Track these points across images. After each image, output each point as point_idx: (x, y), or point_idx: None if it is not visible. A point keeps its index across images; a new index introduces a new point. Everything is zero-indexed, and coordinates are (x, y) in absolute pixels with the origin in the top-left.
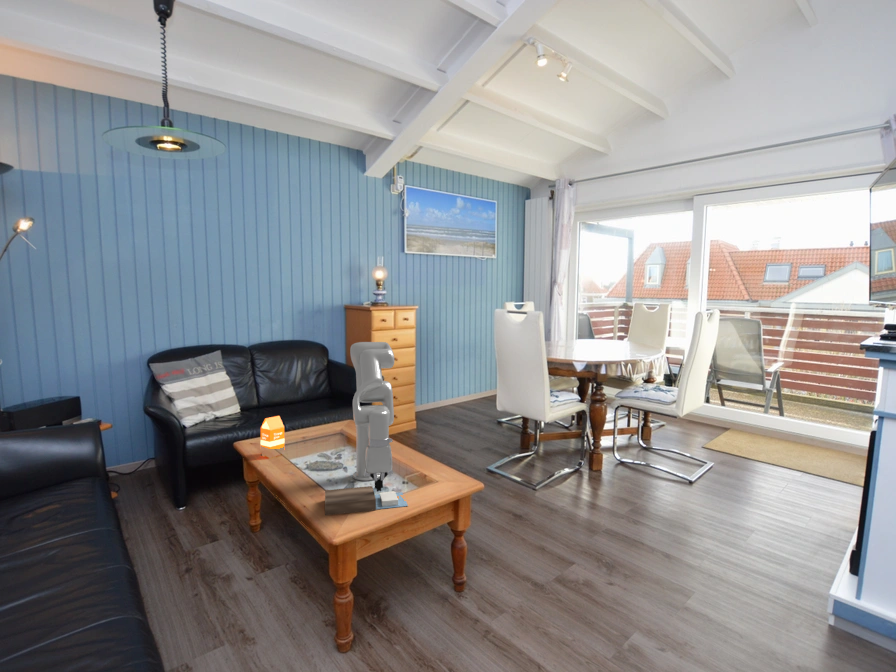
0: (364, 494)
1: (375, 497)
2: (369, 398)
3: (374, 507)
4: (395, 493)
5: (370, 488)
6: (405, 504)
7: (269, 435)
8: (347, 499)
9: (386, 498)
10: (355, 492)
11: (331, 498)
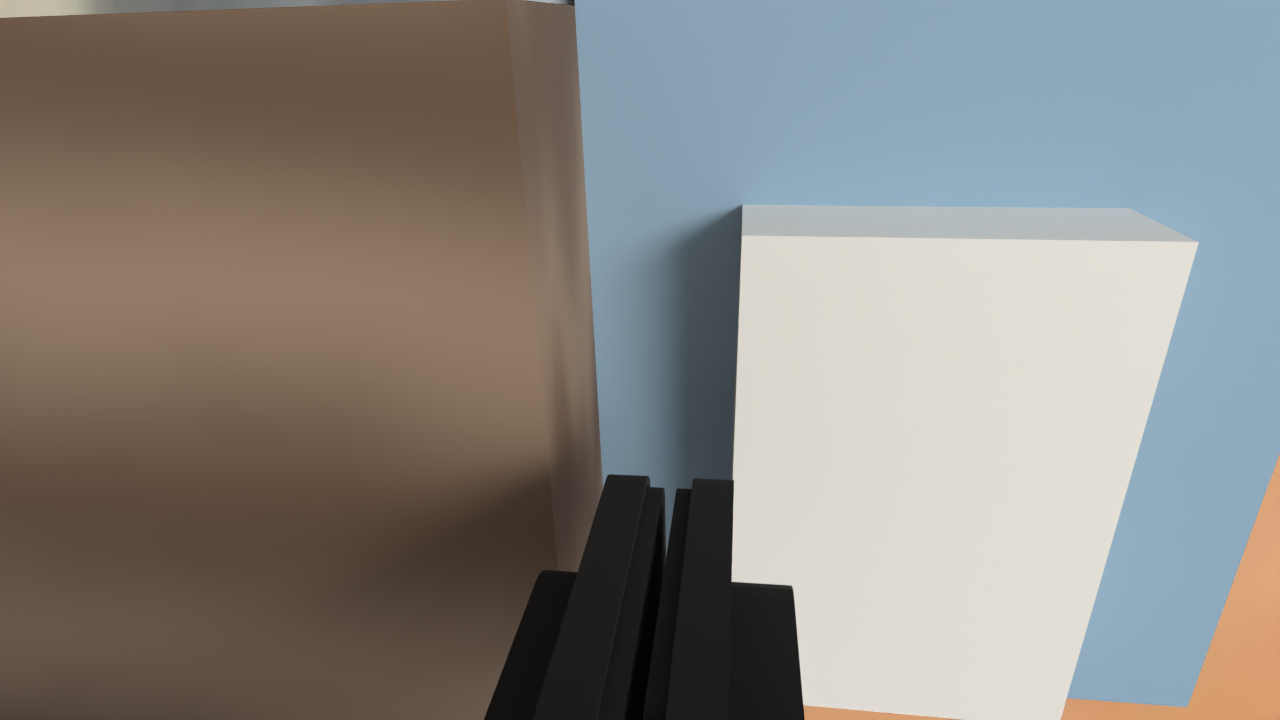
0: (336, 571)
1: (644, 173)
2: None
3: None
4: (1138, 404)
5: (454, 219)
6: (1163, 660)
7: None
8: (52, 694)
9: (834, 612)
10: (100, 410)
11: None
